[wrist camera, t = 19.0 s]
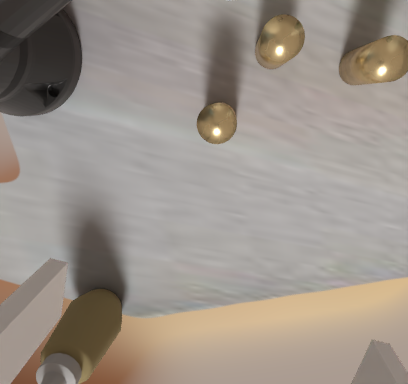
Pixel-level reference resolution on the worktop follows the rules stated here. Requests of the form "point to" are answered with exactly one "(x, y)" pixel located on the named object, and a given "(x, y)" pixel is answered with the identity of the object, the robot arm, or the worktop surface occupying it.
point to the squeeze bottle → (81, 338)
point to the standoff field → (288, 48)
